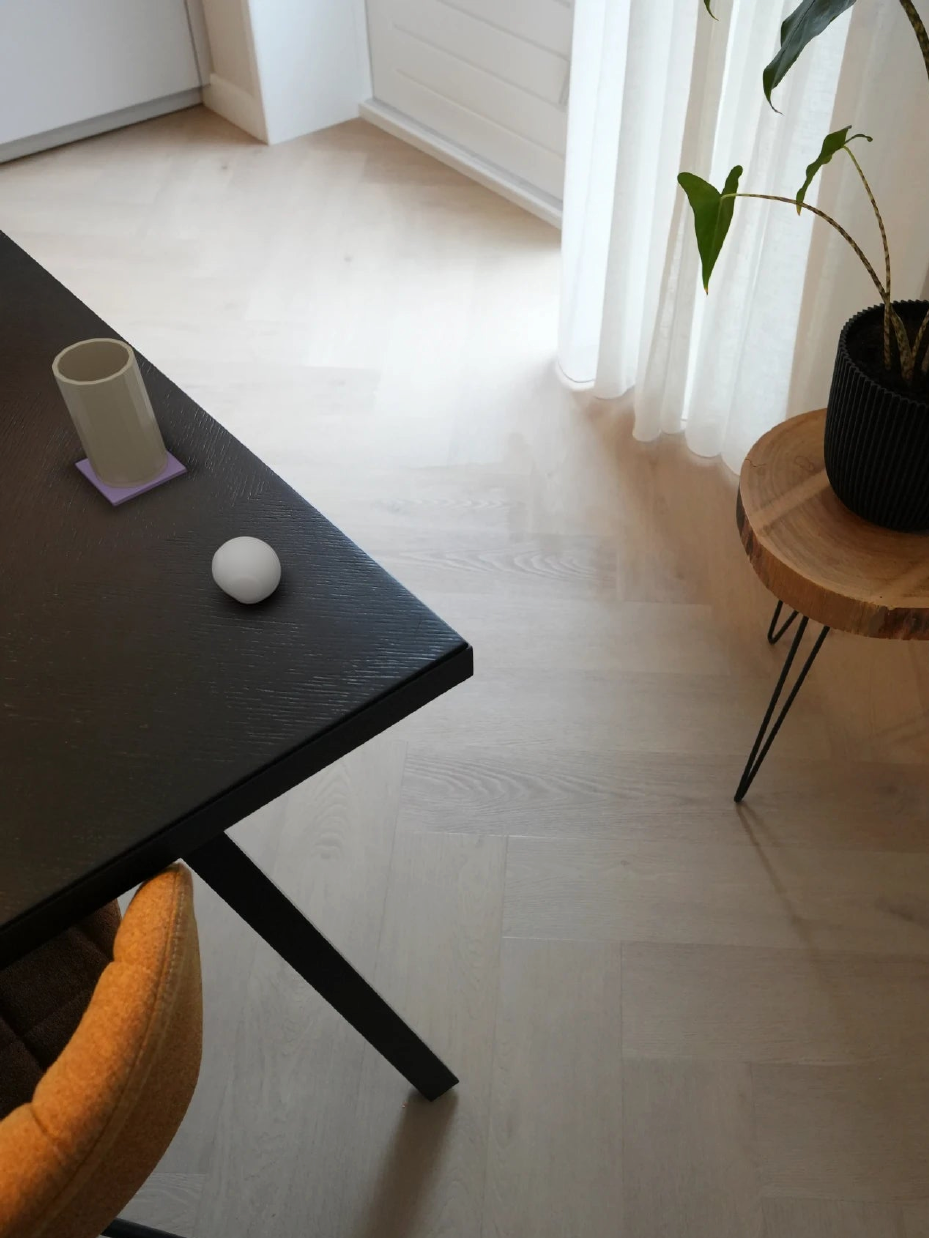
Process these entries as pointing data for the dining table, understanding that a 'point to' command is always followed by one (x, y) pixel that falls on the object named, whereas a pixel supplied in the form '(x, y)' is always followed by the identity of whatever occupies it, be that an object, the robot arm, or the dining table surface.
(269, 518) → the dining table surface
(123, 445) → the cup
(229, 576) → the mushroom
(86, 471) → the napkin
